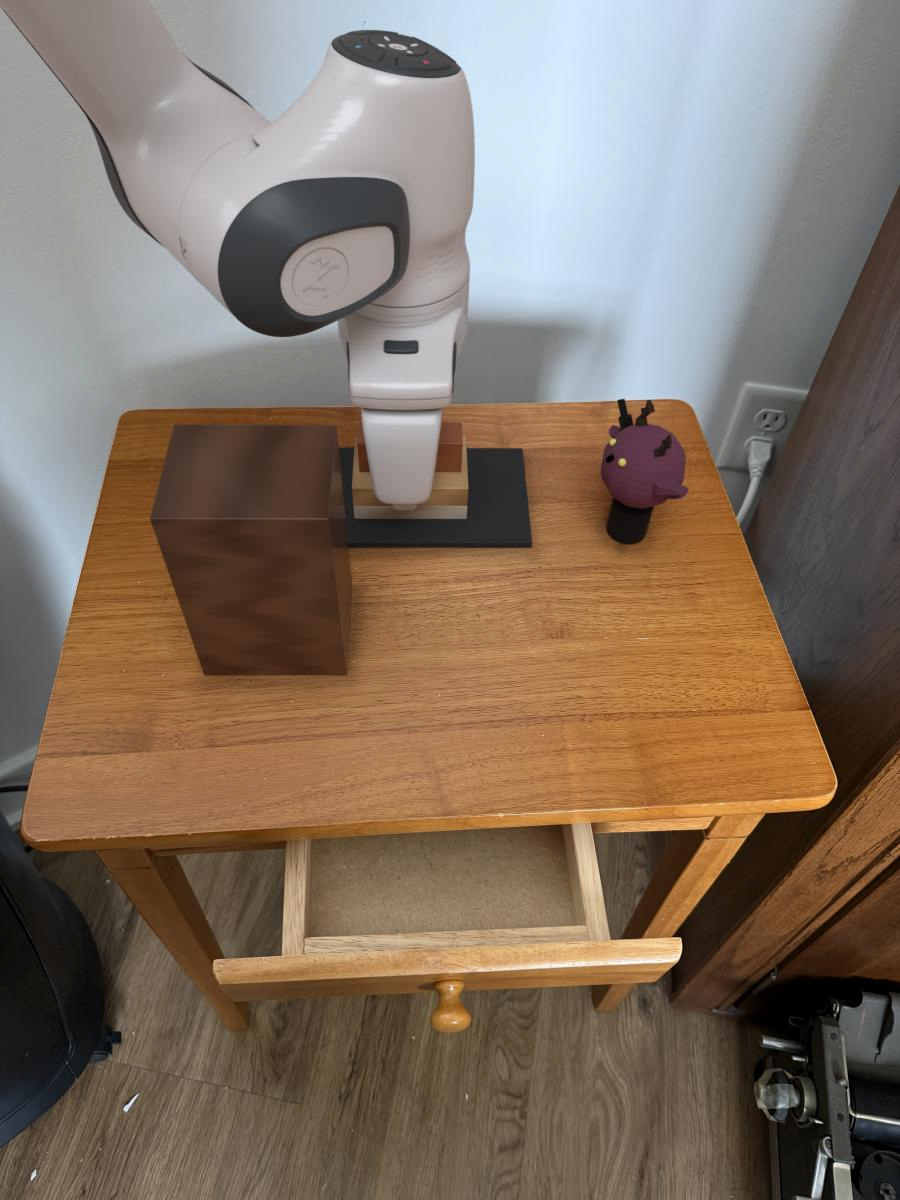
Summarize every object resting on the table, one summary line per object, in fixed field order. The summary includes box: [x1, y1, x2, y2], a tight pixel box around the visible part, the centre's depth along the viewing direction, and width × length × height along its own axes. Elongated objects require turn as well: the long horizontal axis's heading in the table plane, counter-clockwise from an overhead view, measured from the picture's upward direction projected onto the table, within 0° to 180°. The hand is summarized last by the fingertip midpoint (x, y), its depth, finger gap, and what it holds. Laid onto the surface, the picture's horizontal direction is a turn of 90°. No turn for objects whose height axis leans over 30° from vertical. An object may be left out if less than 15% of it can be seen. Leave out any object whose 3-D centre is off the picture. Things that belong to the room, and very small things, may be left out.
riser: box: [149, 423, 353, 676], centre depth 59 cm, size 10×8×16 cm
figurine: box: [600, 398, 689, 545], centre depth 67 cm, size 8×8×12 cm
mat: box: [339, 446, 533, 549], centre depth 73 cm, size 20×11×1 cm, turn 91°
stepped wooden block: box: [352, 421, 468, 519], centre depth 71 cm, size 9×6×6 cm, turn 91°
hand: (405, 460), depth 70 cm, fingers open, 8 cm apart
